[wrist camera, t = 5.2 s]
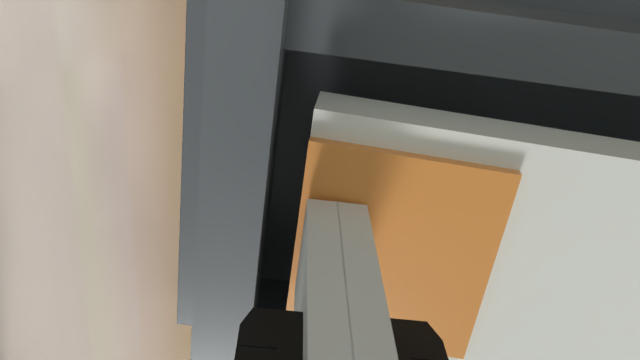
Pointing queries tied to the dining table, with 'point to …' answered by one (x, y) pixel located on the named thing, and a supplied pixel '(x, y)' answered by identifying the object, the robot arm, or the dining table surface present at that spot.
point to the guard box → (366, 82)
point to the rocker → (488, 226)
